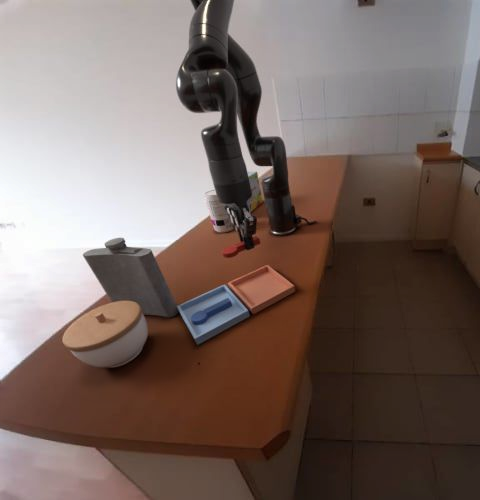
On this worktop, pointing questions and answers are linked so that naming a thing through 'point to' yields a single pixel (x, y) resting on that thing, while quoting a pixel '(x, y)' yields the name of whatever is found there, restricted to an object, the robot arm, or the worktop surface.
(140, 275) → the hip flask
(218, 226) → the supplement can
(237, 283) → the orange tray
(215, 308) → the blue spoon
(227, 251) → the red spoon
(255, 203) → the snack box
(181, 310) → the blue tray
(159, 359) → the worktop surface
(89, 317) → the lidded bowl
